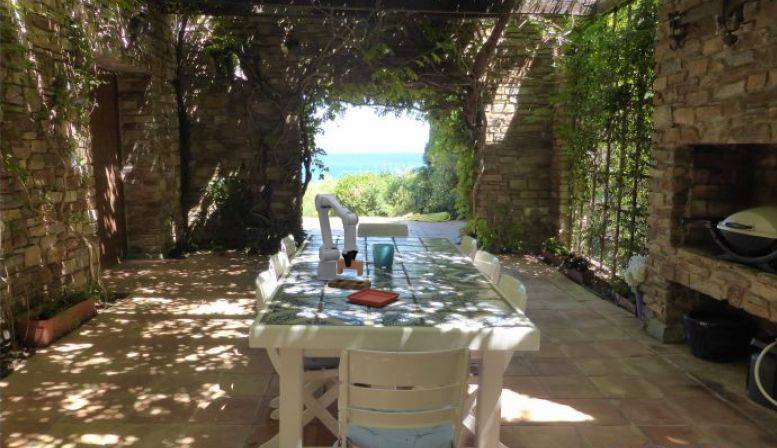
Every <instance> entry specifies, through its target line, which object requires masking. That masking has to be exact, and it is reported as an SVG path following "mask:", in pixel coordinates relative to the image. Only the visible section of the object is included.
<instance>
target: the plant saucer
mask: <svg viewBox="0 0 777 448" xmlns="http://www.w3.org/2000/svg"><path fill="white" fill-rule="evenodd" d="M400 296H401V293H398V292H392V291H387V290H381V289H374V288H367V289H364V290H361V291H359V290H357V291H355V292H353V293H351V294H348V295H346V296H345V297H346V298H347V299H348V301H349V302H350V303H352V304H358V305H364V306H368V307H374V308H381V307H383V306H385V305H388V304H389V303H392V302H394V301H396V300H397V299H398V298H399V297H400Z"/></svg>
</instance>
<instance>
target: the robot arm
mask: <svg viewBox="0 0 777 448" xmlns="http://www.w3.org/2000/svg"><path fill="white" fill-rule="evenodd" d="M337 198H338V197H337V195H336V194H335V193H317V194H316V195H315V197H314V206H315V211H316V212H317V215H318V222H319V228H320V232H321V233H320V234H321V239H322V244H321V246H319V248H318V258H319V262H318V263H317V266H316V267H317V273H316V275H317V278H316V280H319V281H329V282H330V281H332V280H333V279H335V278H337V279H340V276H337V275H338V274H337V260H339V259H341V258H340V257H341V256H342V259H344V261H345V265H346V267H350V266H351V260H356V258H357V255H358V253H359V247H358V244H357V225H358V224H359V215H358V214H357V213H356V212H352V211H351V210H349V208H347V206H346V205H341V204H340V202H339V201H338V200H337ZM331 210H335V215H336V216H338V217H339V219H340V220H341V223H342V229H343V239H344V240H343V243H344V244H343V249H342V252H340V250H339V246H338V244H336V243H335V242H333V241H334V240H333V235H332V229H331V221H330V217H329V212H330V211H331Z"/></svg>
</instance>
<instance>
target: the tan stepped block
mask: <svg viewBox="0 0 777 448" xmlns="http://www.w3.org/2000/svg"><path fill="white" fill-rule="evenodd" d="M344 270H350V271H351V270H354V271H357V272H356V276H357V277H362V276H364V260H362V259H355V260H351V266H350V267H346V265H345V261H344V258H339V260H337V275H342V274H343V273H344Z"/></svg>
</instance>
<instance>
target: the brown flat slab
mask: <svg viewBox="0 0 777 448" xmlns="http://www.w3.org/2000/svg"><path fill="white" fill-rule="evenodd" d="M328 287H330V288H331V289H339V288H340V290H349V289H351V290H352V291H359V290H364V289H367V288H369V287H370V288H371V287H372V281H369V280H368V281H367V280H359V279H358V280H355V279H346V278H338V279H337V278H335V279H333V280H332V281H330V280H329V281H328V282H327V288H328ZM330 288H329V289H330ZM370 288H369V289H370Z"/></svg>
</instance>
